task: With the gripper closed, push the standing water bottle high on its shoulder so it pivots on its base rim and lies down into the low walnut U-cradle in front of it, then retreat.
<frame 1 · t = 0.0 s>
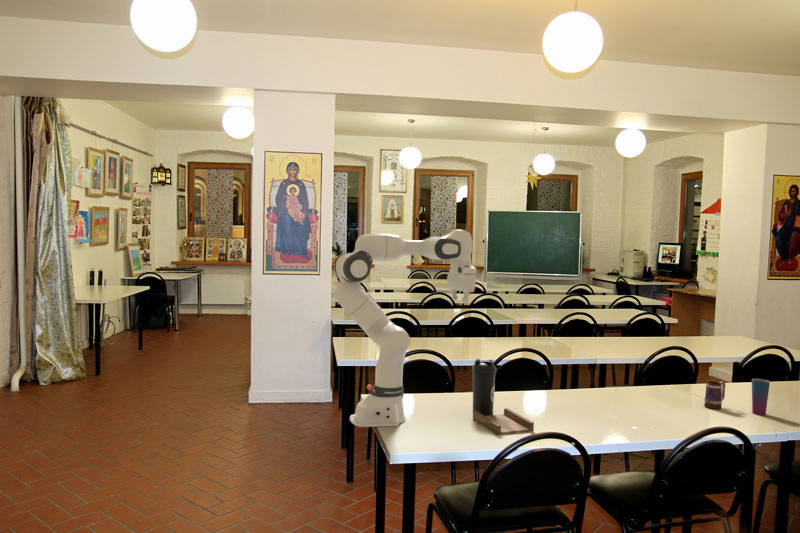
hand: (459, 301, 241), 48 cm above the table, fingers open, 8 cm apart
cradle: (502, 425, 229), on the table
mug: (715, 407, 263), on the table
water bottle: (482, 413, 244), on the table
cup: (758, 414, 255), on the table
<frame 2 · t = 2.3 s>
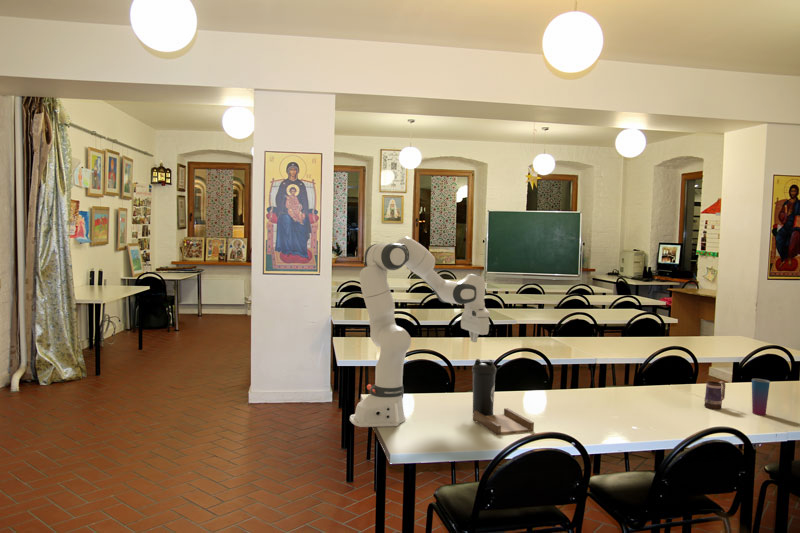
hand: (473, 341, 253), 29 cm above the table, fingers closed
nothing on the table moved.
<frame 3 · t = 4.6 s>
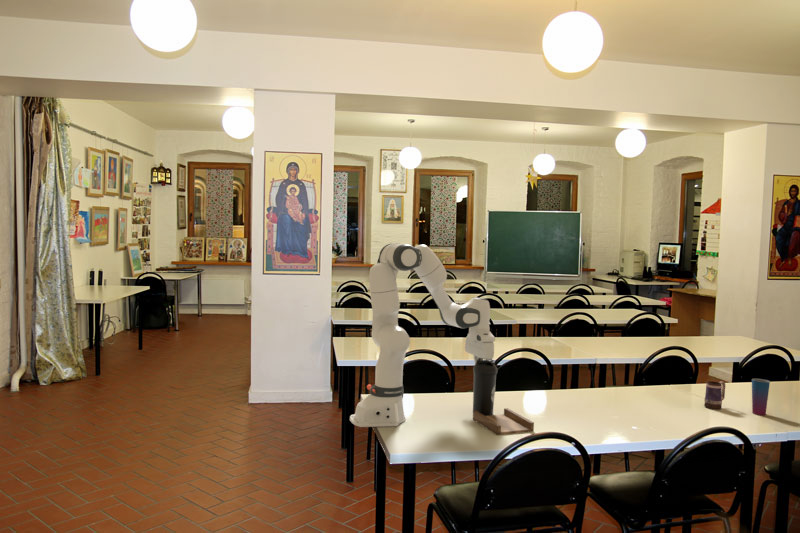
hand: (478, 366, 249), 19 cm above the table, fingers closed
water bottle: (482, 413, 244), on the table, touching gripper
everything else where it was.
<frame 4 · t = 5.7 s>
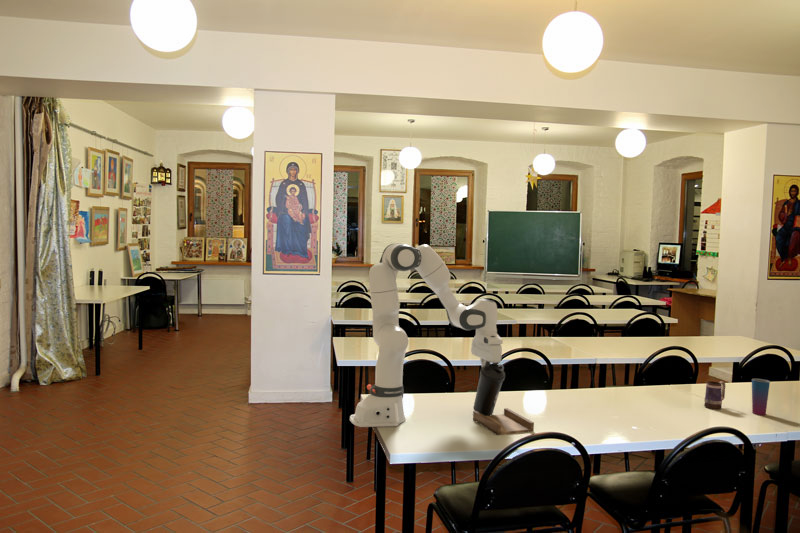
hand: (485, 369, 243), 19 cm above the table, fingers closed
water bottle: (483, 409, 244), point 2 cm above the table
everything else where it was.
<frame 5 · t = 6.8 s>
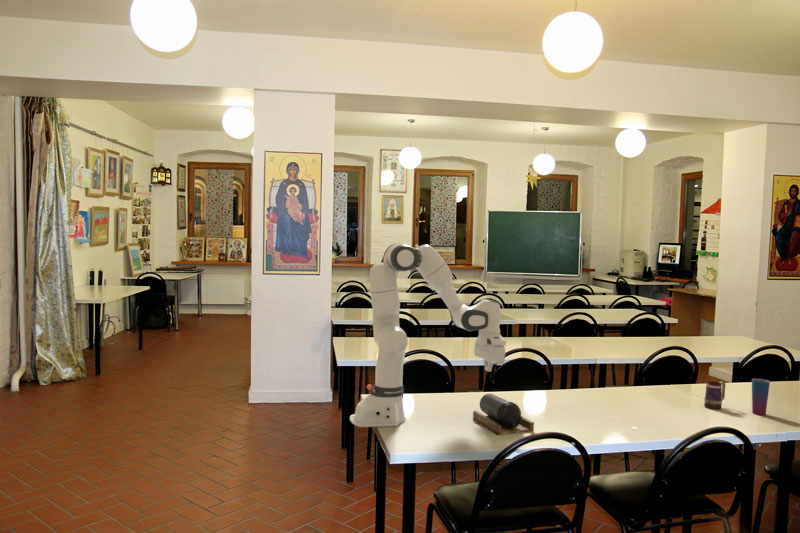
hand: (488, 370, 240), 19 cm above the table, fingers closed
water bottle: (488, 403, 241), point 5 cm above the table, touching cradle
everything else where it was.
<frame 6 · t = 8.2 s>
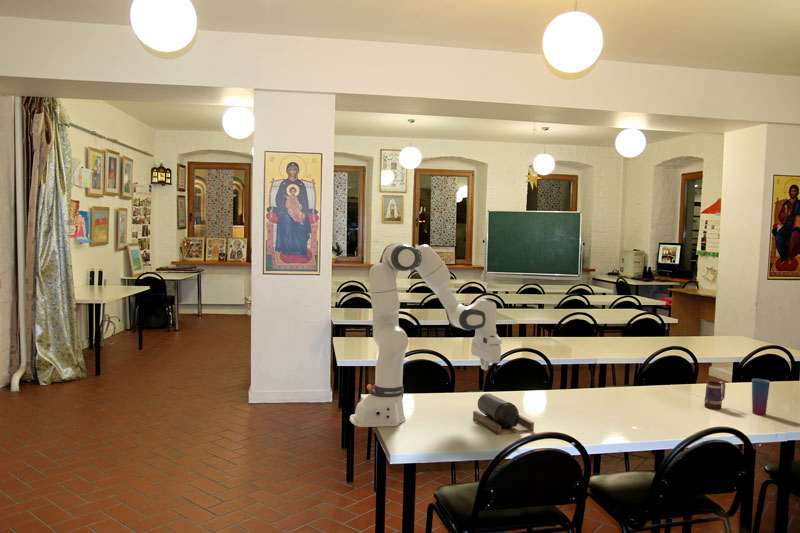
hand: (484, 369, 243), 19 cm above the table, fingers closed
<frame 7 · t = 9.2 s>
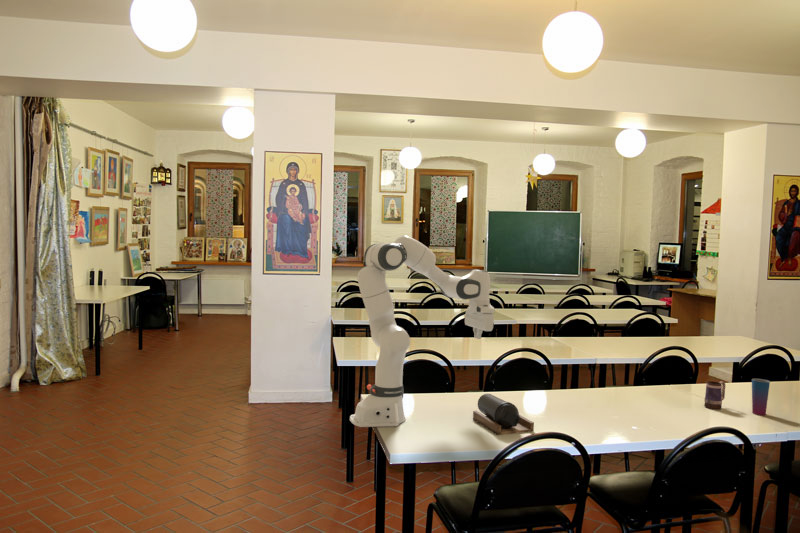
hand: (477, 338, 249), 31 cm above the table, fingers closed
nothing on the table moved.
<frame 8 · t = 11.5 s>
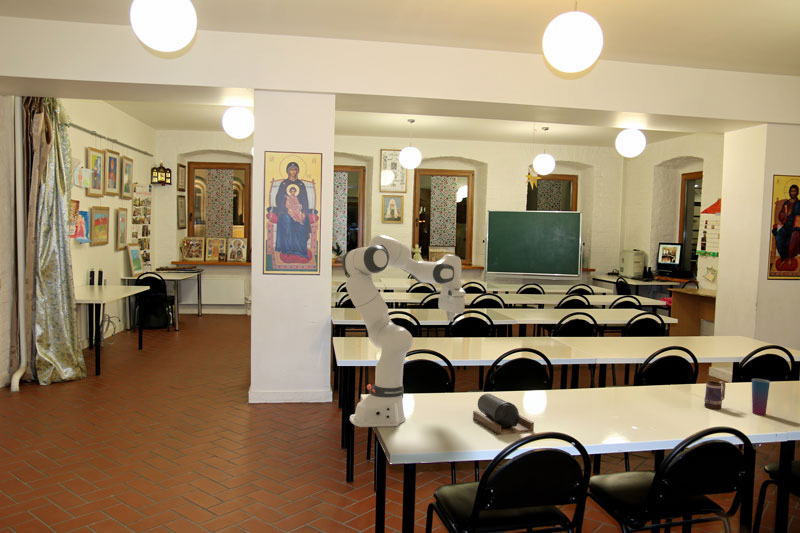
hand: (450, 321, 257), 37 cm above the table, fingers closed
nothing on the table moved.
at the end: water bottle tilted 88°; water bottle inside the target area (10.9 cm from its centre), point 5.3 cm above the table; water bottle touching cradle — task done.
